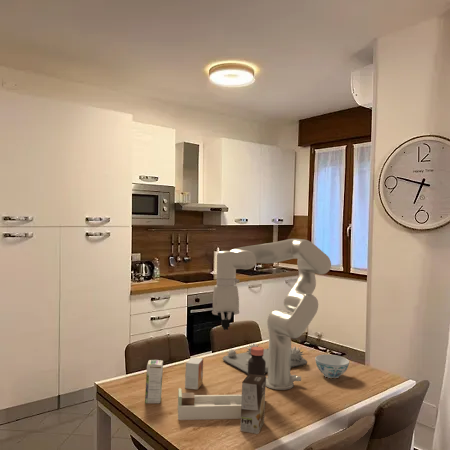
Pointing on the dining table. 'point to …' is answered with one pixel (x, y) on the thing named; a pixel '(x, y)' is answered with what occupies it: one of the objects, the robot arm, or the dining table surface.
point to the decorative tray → (242, 358)
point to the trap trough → (210, 407)
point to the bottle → (256, 362)
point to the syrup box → (154, 381)
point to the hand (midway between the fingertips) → (225, 328)
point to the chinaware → (331, 365)
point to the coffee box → (253, 403)
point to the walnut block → (188, 399)
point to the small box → (194, 373)
